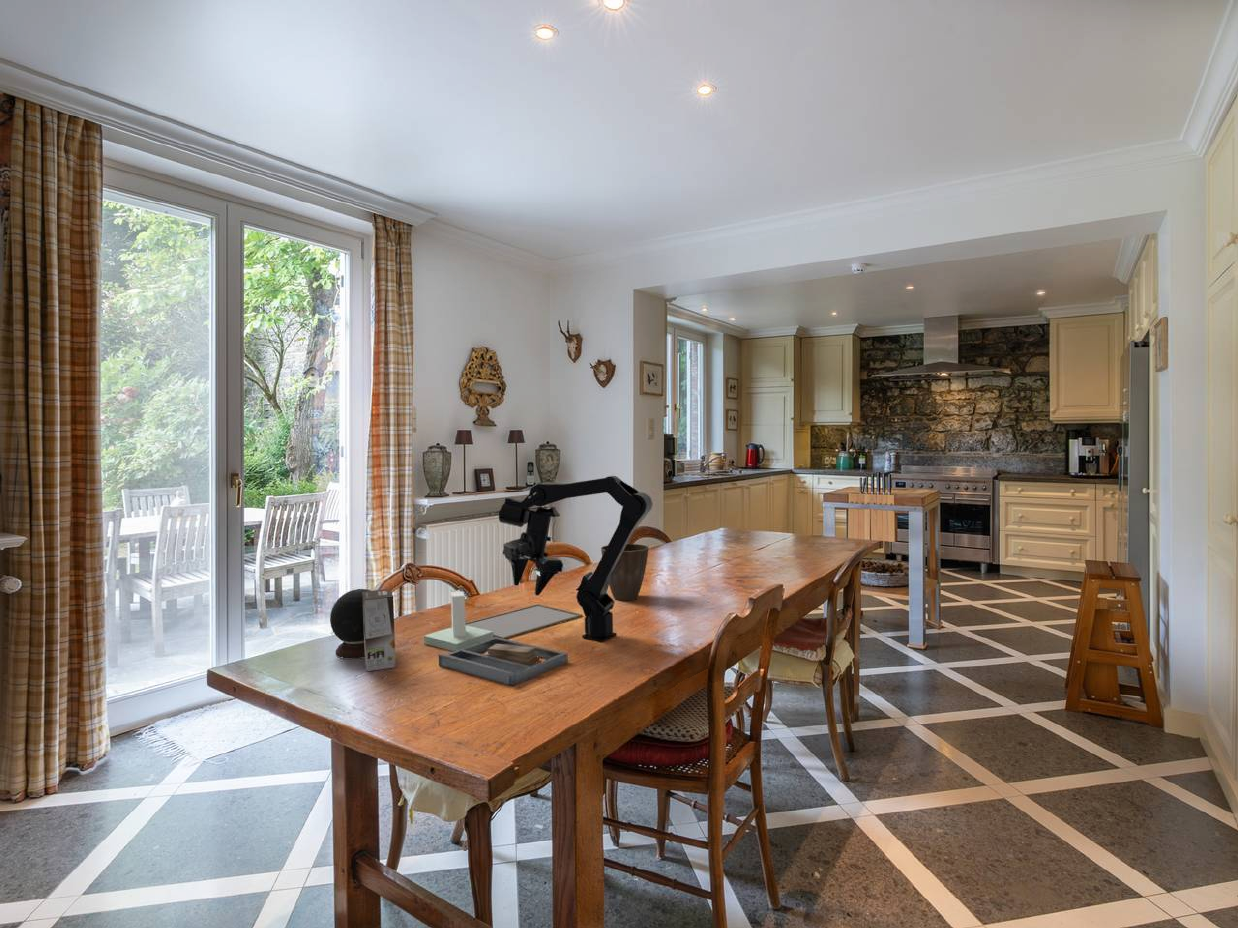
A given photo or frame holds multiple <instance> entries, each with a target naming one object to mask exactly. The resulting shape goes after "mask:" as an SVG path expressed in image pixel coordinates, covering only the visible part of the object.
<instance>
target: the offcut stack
mask: <svg viewBox="0 0 1238 928" xmlns="http://www.w3.org/2000/svg"><path fill="white" fill-rule="evenodd" d="M482 654H483V655H487V656H491V657H495V658H499V659H503V660H507V661H511V662H515V663H519V664H523V665H527V666H533V665H534V664H535V663H536V662H537V663H539V662H540V657H536V653H535V647H526V646H516V645H505V644H495V645H493V646H492V647H490V648H488V650H486V651H484V653H482ZM537 663H536V664H537ZM536 664H535V665H536Z"/></svg>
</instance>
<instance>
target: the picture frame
mask: <svg viewBox="0 0 1238 928" xmlns="http://www.w3.org/2000/svg"><path fill="white" fill-rule="evenodd" d="M578 618H583V614H582V613H577V612H572V611H570V610H569V611H568V610H564V609H561V608H560V609H559V608H556V607H552V606H548V605H543V604H540V603H536V604H532V605H529V606H526V607H525V606H524V607H521V608H518V609H517V608H516V609H513V610H509V611H505V612H502V613H498V614H495V615H490V616H486V617H482V618H478V619H475V620H471V621H467V622H466V626H471V627H475V628H480V629H484V630H489V631H493V637H498V638H502V639H507V640H509V639H511V638H514V636H515V637H518V636H522V635H525V634H528V633H531V631H532V632H535V631H538V630H537V629H539V630H541V629H540V628H542V629H545V628H548V627H547V626H549V627H552V626H555V625H554V624H556V625H558V624H557V623H559V624H561V623H560V622H562V623H565V622H564V621H566V622H568V621H567V620H569V621H572V620H571V619H573V620H575V619H578ZM551 625H552V626H551ZM544 627H545V628H544ZM534 630H535V631H534Z"/></svg>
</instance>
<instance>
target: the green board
mask: <svg viewBox="0 0 1238 928" xmlns="http://www.w3.org/2000/svg"><path fill="white" fill-rule="evenodd" d="M491 638H494V637H493V631H489V630H484V629H480V628H475V627H471V626H466V636H459V637H453V633H452V626H451V627H448V628H446V629H442V630H441V629H440V630H438V631H435V632H432V633H428V634H425V635H423V644H424V645H427V646H430V647H431V646H432V647H435V648H439V649H443V650H447V651H452V652H454V651H457V650H460V649H462V648H465V647H468V646H471V645H474V644H477V643H480V642H483V641H486V640H489V639H491Z"/></svg>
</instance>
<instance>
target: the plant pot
mask: <svg viewBox="0 0 1238 928" xmlns="http://www.w3.org/2000/svg"><path fill="white" fill-rule="evenodd" d="M607 546H608V545H603V546H601V547H600V549H601V550H600V551H601V557H602V556H603V554H604V552H605V550H606V548H607ZM648 555H649V546H648V545H644V544H637V543H627V545H626V547H625V549H624V551H623V553H622V555H621V556H620V558H619V560H618V562H617V564H616V566H615V568H614V570H613V572H612V574H611V576H610V580H609V586H608V587H609V588H610V591H611V592H610V593H611V594H612V597H613V600H617V601H623V602H624V601H626V602H627V601H633V600H637V599H638V597H639V594H640V592H641V588H642V586H643V585H642V584H643V583H644V582H643V581H644V579H645V575H646V574H645V573H646V568H647V563H648Z"/></svg>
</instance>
